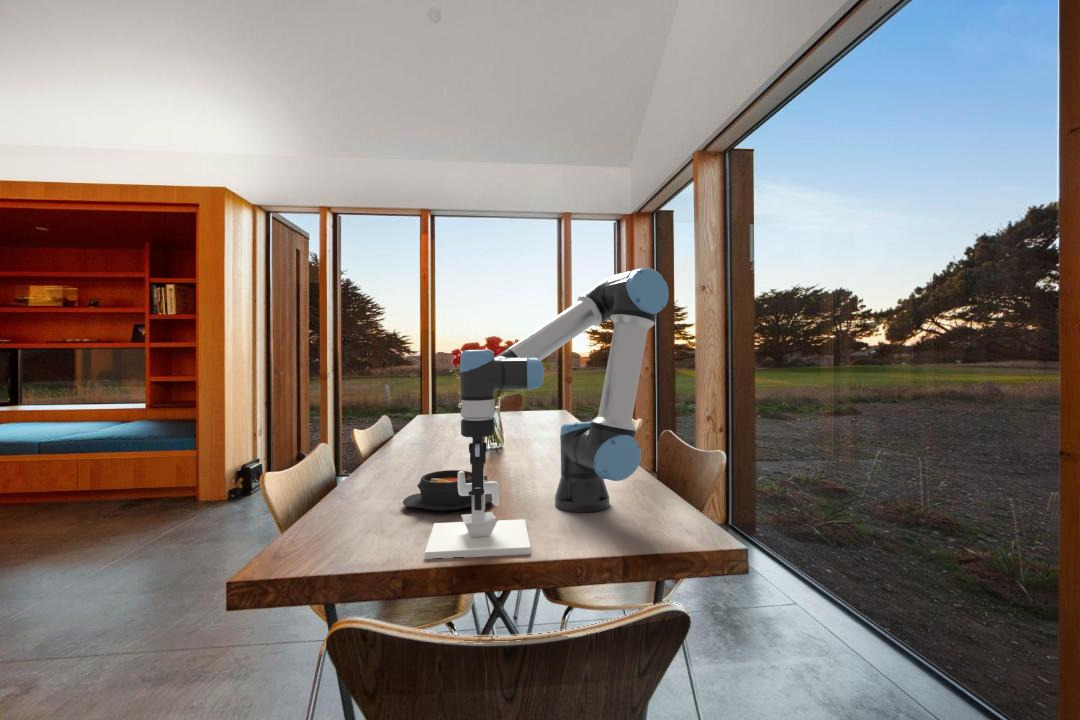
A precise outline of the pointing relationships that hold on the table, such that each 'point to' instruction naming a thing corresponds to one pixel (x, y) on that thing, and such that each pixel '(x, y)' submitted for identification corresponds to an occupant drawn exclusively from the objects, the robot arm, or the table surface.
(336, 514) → the table surface
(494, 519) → the figurine
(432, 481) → the casserole
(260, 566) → the table surface
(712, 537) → the table surface
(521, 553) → the board
